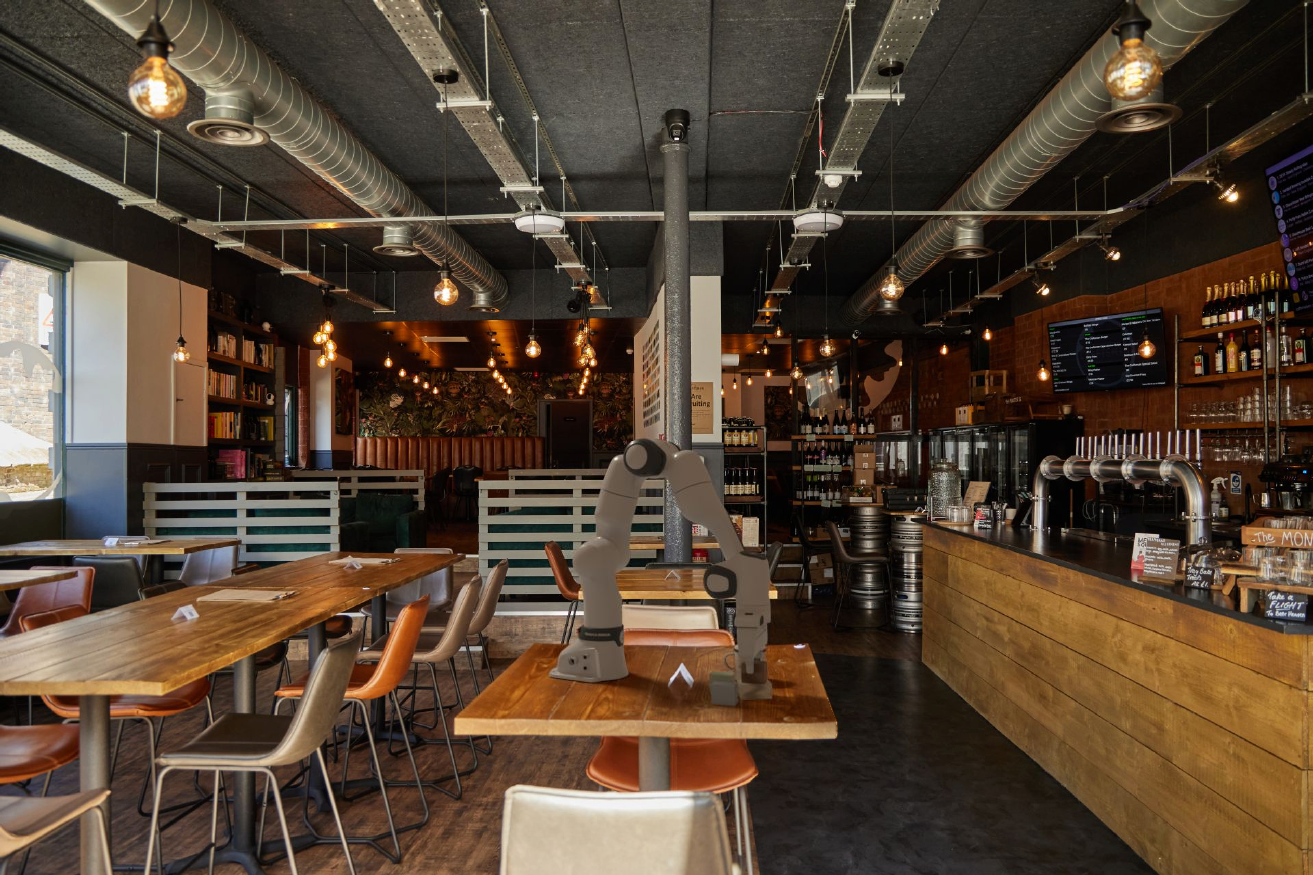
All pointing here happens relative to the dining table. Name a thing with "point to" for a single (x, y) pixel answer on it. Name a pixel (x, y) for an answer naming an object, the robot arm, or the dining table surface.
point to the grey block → (724, 693)
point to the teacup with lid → (740, 661)
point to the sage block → (721, 677)
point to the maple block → (754, 690)
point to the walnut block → (755, 673)
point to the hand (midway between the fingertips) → (754, 668)
